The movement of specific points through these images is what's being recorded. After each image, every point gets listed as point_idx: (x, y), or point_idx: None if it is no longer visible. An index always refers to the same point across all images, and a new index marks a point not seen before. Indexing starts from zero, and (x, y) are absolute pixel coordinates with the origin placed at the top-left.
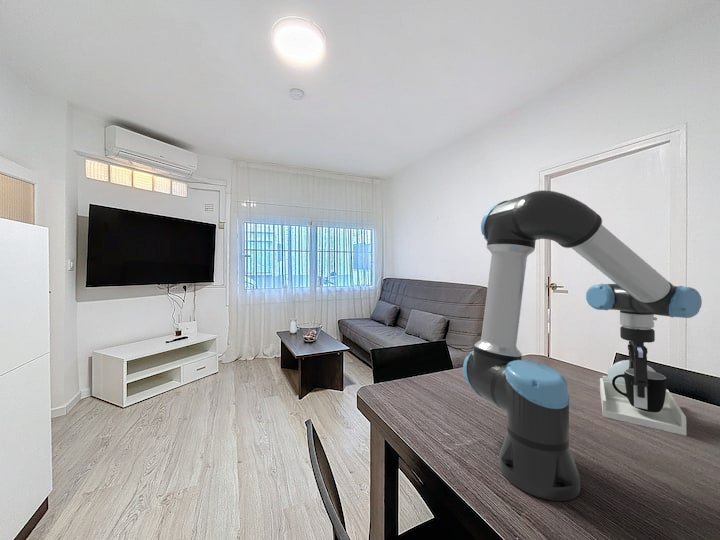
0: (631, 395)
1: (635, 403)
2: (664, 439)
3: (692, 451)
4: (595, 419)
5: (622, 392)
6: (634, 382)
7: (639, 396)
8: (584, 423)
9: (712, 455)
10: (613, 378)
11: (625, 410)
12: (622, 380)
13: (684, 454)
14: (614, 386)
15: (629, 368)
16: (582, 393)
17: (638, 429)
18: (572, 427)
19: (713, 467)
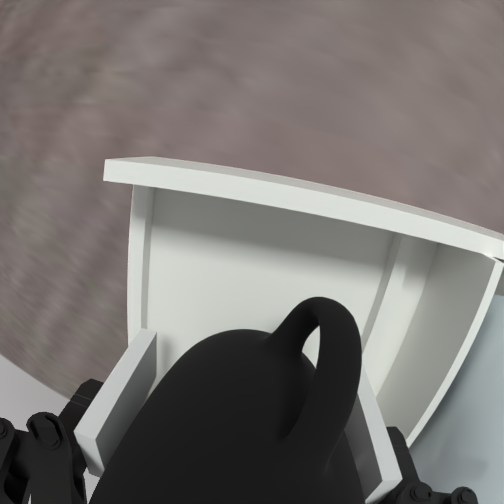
0: (187, 365)
1: (132, 343)
2: (71, 329)
3: (48, 363)
4: (104, 119)
5: (296, 333)
6: (43, 440)
7: (85, 387)
8: (51, 79)
9: (61, 393)
10: (329, 348)
11: (253, 285)
12: (479, 376)
13: (20, 335)
14: (311, 307)
15: (457, 499)
16: (466, 132)
17: (96, 276)
18: (14, 50)
19: (9, 360)
